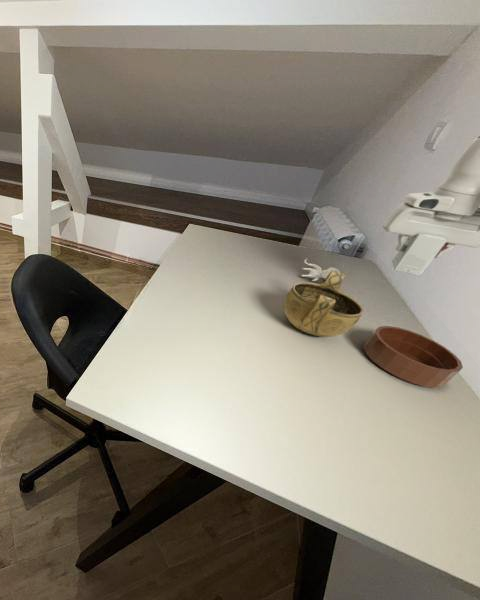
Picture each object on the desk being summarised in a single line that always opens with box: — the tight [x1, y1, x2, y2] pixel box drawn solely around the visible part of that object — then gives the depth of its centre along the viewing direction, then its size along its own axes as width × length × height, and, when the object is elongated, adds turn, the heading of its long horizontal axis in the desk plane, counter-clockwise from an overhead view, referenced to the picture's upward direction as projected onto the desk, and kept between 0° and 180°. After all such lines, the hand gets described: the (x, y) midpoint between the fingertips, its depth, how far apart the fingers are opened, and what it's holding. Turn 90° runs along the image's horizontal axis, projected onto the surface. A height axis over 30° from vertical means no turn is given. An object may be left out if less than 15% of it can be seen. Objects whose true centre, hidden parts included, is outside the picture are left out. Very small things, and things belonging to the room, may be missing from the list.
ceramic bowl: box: [283, 271, 364, 338], centre depth 87 cm, size 22×17×15 cm
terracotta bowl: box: [362, 325, 464, 389], centre depth 79 cm, size 17×17×6 cm
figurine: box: [300, 258, 341, 282], centre depth 117 cm, size 8×9×12 cm
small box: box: [391, 234, 447, 277], centre depth 85 cm, size 8×6×10 cm
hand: (415, 253), depth 85 cm, fingers closed on small box, 6 cm apart
